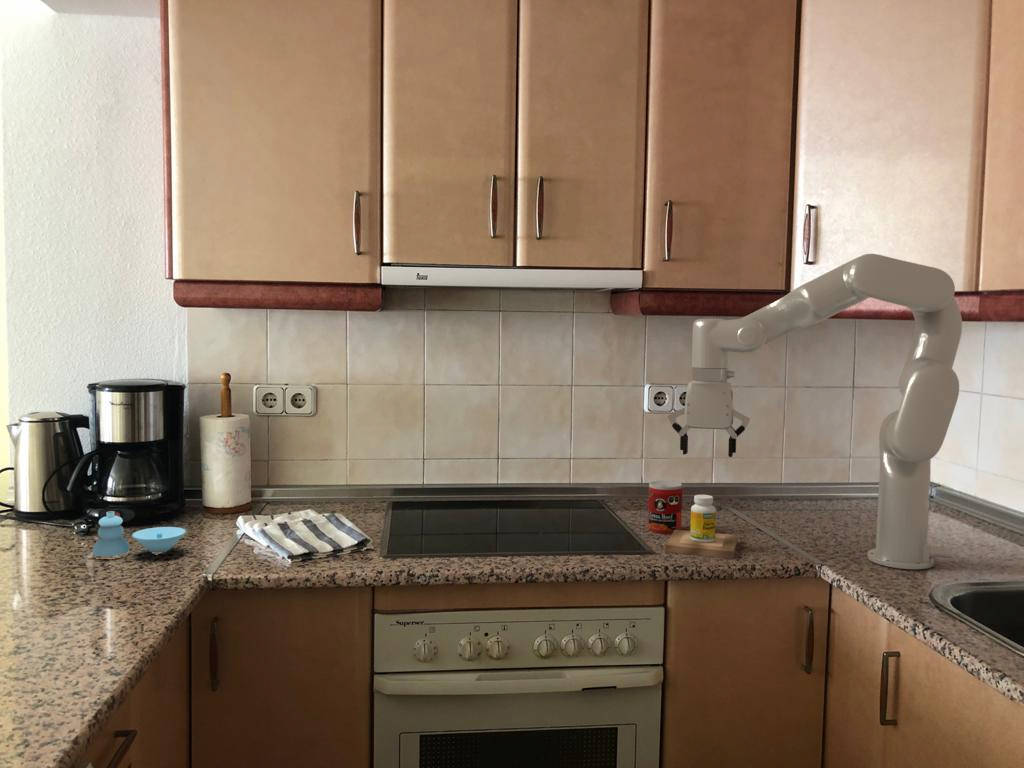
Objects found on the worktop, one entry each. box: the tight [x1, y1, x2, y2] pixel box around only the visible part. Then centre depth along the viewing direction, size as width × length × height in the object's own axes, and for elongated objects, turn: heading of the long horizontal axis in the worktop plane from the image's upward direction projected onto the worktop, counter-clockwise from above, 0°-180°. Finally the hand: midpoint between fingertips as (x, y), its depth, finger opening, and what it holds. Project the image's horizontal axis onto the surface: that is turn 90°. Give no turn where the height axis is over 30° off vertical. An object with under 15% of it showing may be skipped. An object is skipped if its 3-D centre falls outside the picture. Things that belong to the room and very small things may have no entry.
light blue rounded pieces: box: [92, 510, 187, 557], centre depth 179 cm, size 18×10×9 cm, turn 100°
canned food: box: [647, 480, 683, 535], centre depth 204 cm, size 8×8×11 cm
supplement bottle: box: [690, 494, 717, 542], centre depth 190 cm, size 5×5×10 cm
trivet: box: [665, 529, 739, 559], centre depth 190 cm, size 14×14×2 cm
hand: (707, 454), depth 188 cm, fingers open, 9 cm apart
